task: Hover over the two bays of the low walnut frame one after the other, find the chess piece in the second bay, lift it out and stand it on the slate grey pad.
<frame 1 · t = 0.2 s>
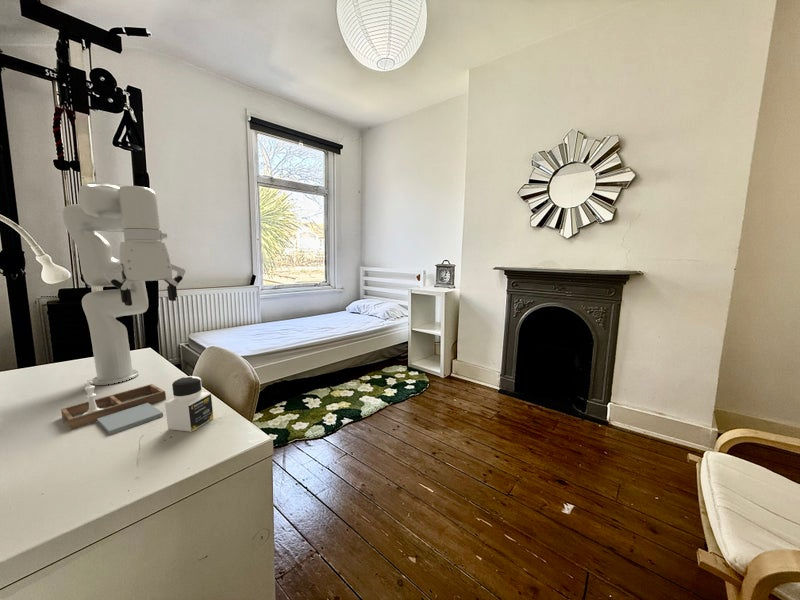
hand: (151, 302, 85), 30 cm above the table, tool pointing down, fingers open, 9 cm apart
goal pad: (130, 419, 86), on the table
bay frame: (117, 408, 92), on the table
chess piece: (94, 415, 88), resting in bay frame
medicine bottle: (191, 424, 83), on the table
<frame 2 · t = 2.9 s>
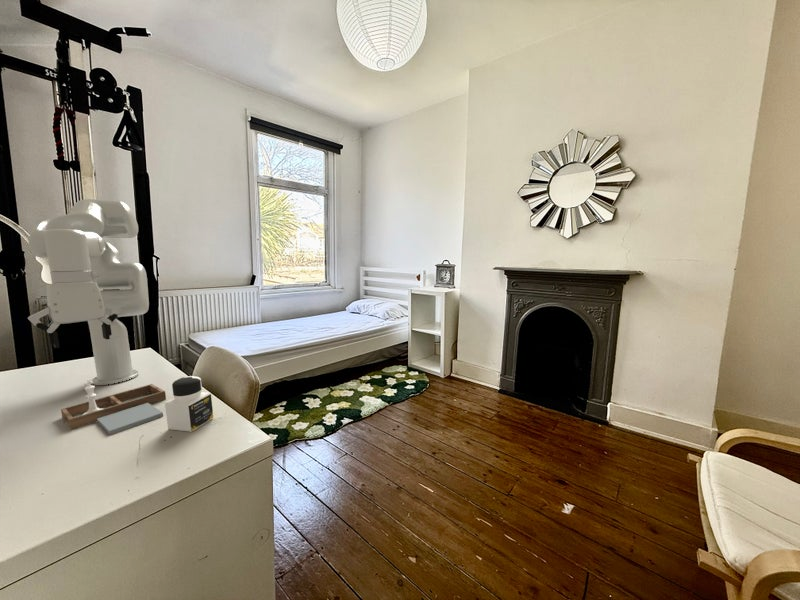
hand: (82, 342, 85), 20 cm above the table, tool pointing down, fingers open, 9 cm apart
nothing on the table moved.
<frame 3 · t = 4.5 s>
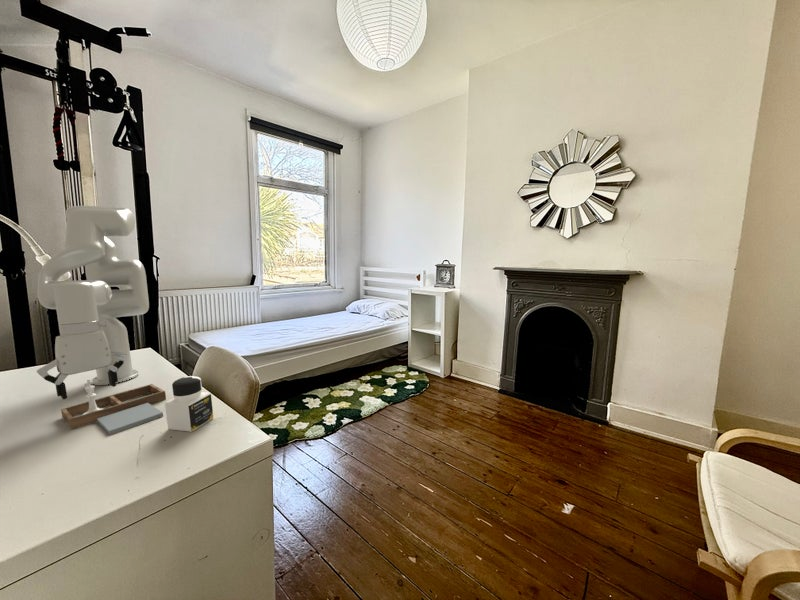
hand: (89, 391, 87), 7 cm above the table, tool pointing down, fingers open, 9 cm apart
nothing on the table moved.
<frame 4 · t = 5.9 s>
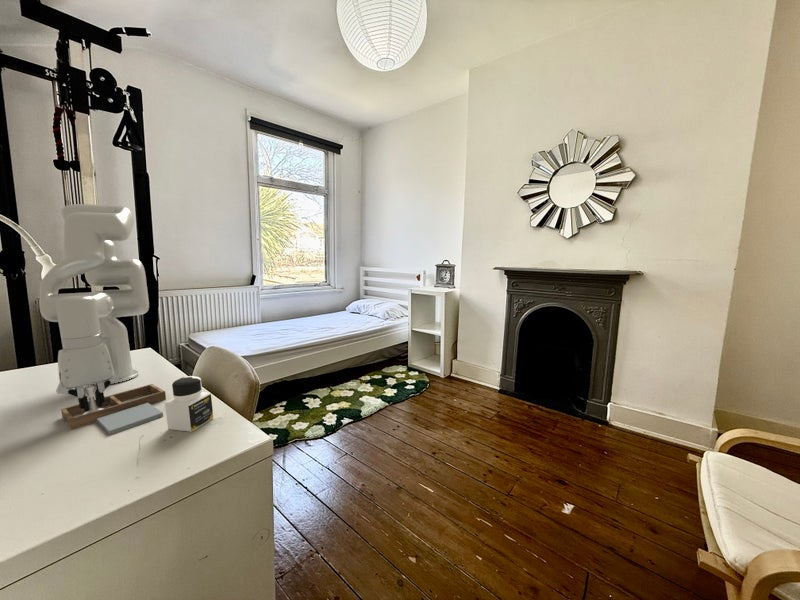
hand: (92, 407, 88), 2 cm above the table, tool pointing down, fingers closed on chess piece
chess piece: (94, 415, 88), resting in bay frame, touching gripper
everything else where it was.
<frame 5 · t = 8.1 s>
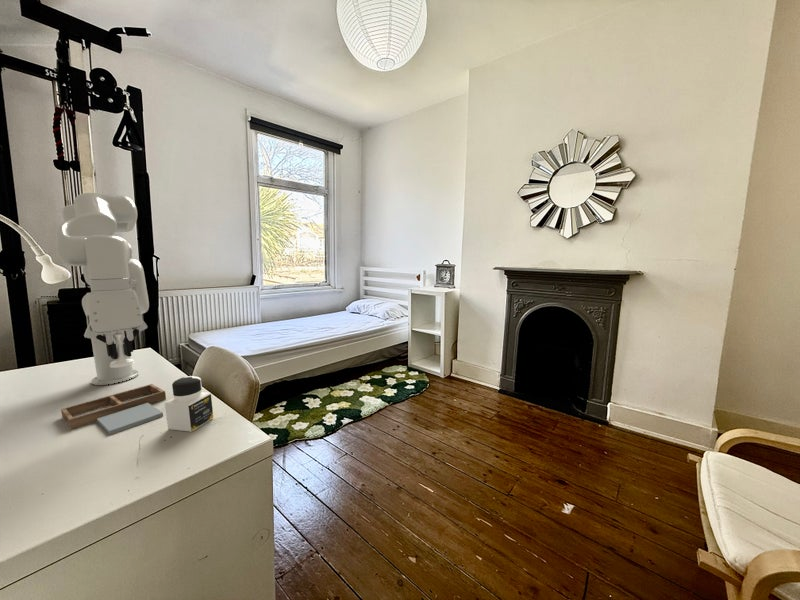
hand: (121, 356, 83), 17 cm above the table, tool pointing down, fingers closed on chess piece
chess piece: (122, 365, 84), point 15 cm above the table, touching gripper
everything else where it was.
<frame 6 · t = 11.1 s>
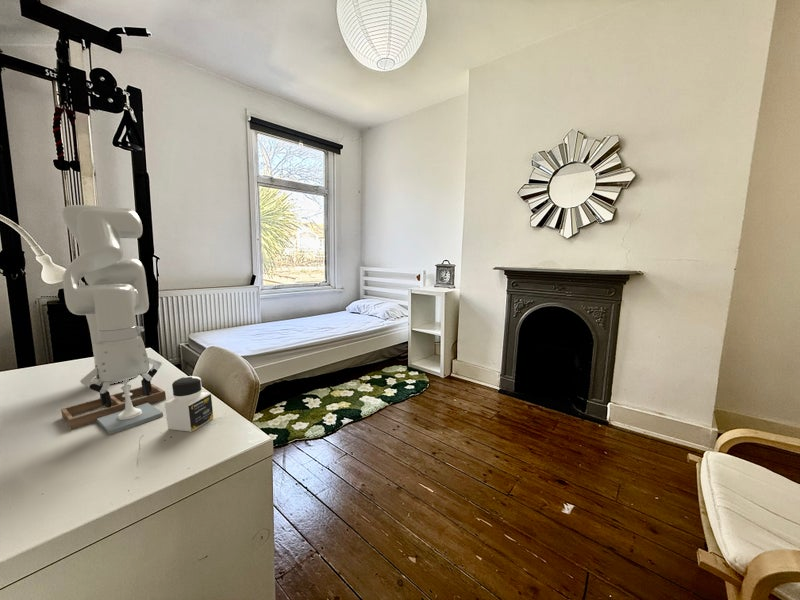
hand: (128, 399, 85), 5 cm above the table, tool pointing down, fingers open, 7 cm apart
chess piece: (130, 415, 86), point 1 cm above the table, touching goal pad
everything else where it was.
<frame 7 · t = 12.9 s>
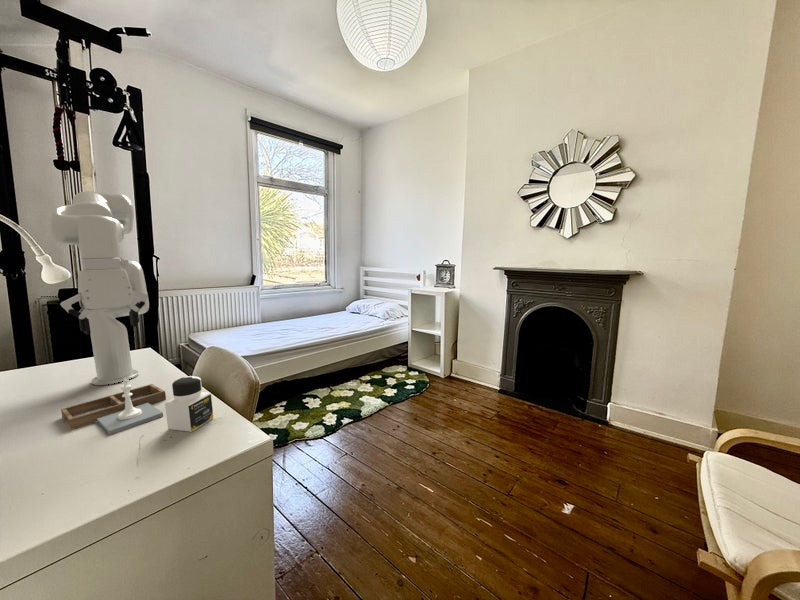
hand: (111, 329, 86), 24 cm above the table, tool pointing down, fingers open, 9 cm apart
nothing on the table moved.
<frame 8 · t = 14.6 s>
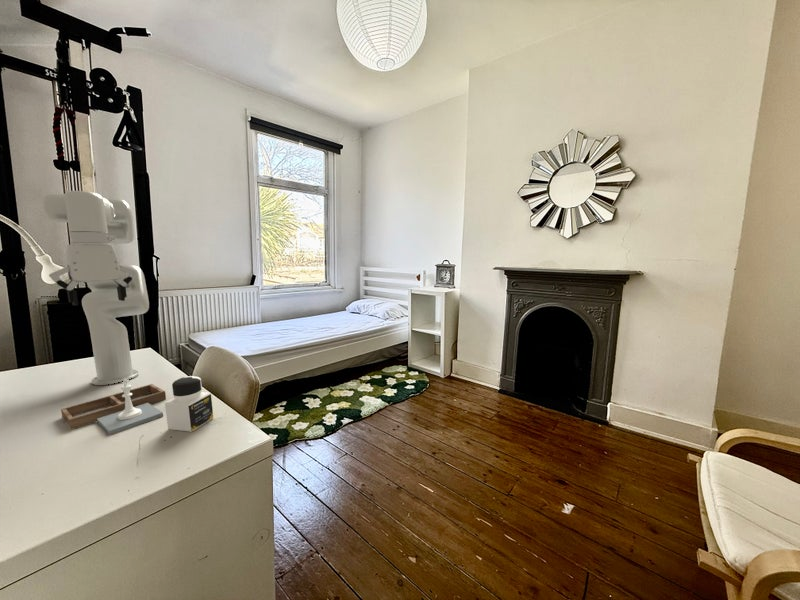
hand: (99, 302, 89), 30 cm above the table, tool pointing down, fingers open, 9 cm apart
nothing on the table moved.
at the end: chess piece inside the target area on the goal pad (0.2 cm from its centre), point 0.8 cm above the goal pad's base; chess piece tilted 0°; the gripper is holding nothing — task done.
